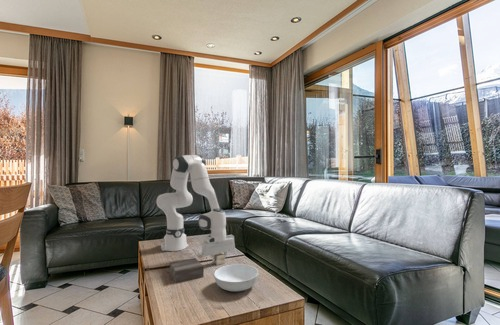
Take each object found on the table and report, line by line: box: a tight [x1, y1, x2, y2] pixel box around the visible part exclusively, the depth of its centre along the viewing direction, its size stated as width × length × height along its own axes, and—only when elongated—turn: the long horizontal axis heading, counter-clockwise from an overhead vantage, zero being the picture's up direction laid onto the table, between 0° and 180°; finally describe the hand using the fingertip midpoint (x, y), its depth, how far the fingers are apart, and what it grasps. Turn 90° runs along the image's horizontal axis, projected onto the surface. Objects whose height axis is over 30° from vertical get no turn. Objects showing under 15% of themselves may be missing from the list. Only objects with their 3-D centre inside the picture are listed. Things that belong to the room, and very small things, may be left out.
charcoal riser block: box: [169, 257, 205, 284], centre depth 140 cm, size 14×14×6 cm
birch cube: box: [212, 252, 226, 266], centre depth 157 cm, size 5×5×5 cm
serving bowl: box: [213, 263, 259, 292], centre depth 126 cm, size 21×21×7 cm
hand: (218, 260), depth 157 cm, fingers closed on birch cube, 5 cm apart
